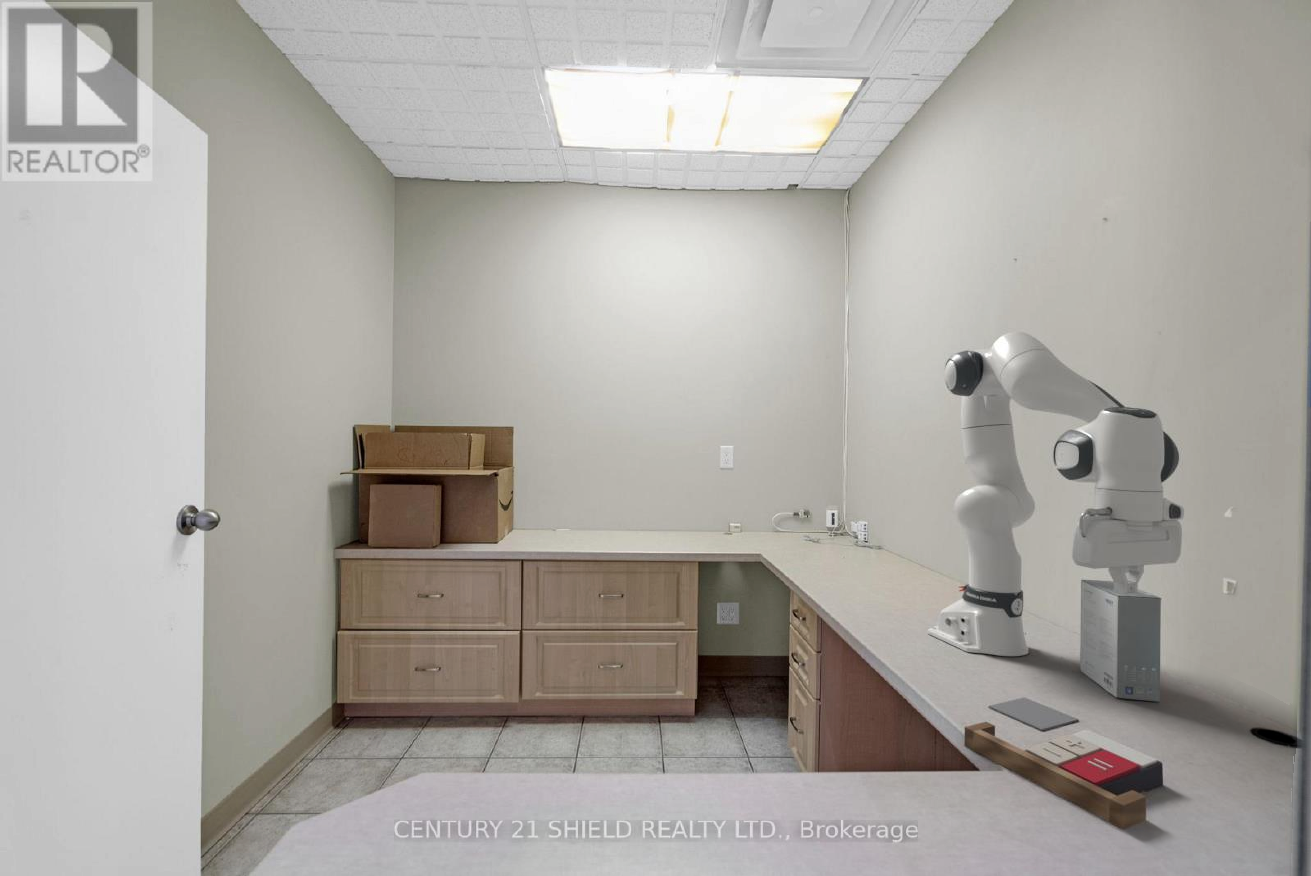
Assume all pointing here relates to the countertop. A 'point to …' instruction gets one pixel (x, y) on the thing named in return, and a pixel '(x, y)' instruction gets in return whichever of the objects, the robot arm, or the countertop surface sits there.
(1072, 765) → the calculator
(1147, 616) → the hard drive box
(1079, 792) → the brown wooden handle
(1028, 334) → the robot arm
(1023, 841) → the countertop surface
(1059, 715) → the rest mat
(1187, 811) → the countertop surface
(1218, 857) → the countertop surface
